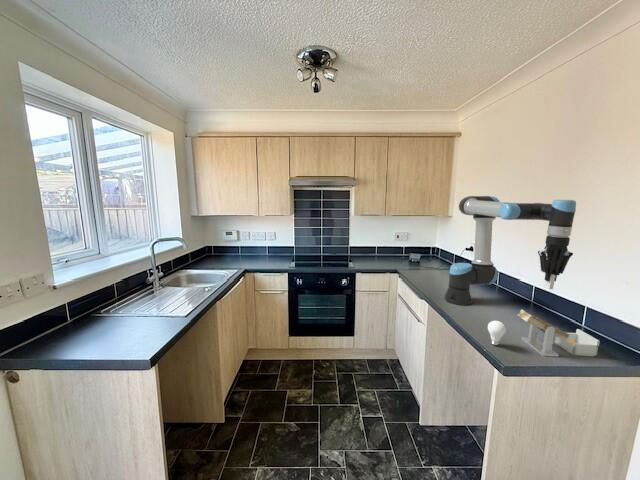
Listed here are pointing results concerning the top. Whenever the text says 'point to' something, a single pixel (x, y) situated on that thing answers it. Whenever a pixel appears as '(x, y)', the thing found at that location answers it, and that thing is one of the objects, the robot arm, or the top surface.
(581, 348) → the tray
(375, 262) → the top surface
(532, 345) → the stand
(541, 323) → the lever
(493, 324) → the light bulb
